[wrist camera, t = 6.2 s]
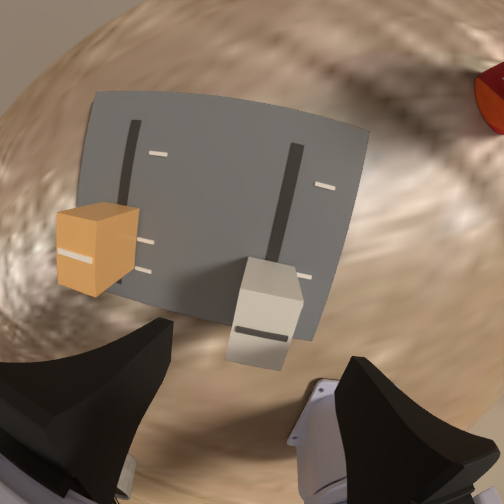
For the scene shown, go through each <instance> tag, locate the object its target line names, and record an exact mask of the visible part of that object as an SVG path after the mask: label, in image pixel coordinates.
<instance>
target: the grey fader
mask: <svg viewBox="0 0 504 504" xmlns="http://www.w3.org/2000/svg"><path fill="white" fill-rule="evenodd" d="M303 303H304V300H303V296H302V292H301V288H300V284H299V280H298V277H297V273H296V269H295V267H294V266H290V265H285V264H280V263H276V262H271V261H267V260H262V259H257V258H253V257H248V261H247V265H246V268H245V272H244V276H243V280H242V283H241V287H240V291H239V296H238V301H237V306H236V310H235V315H234V320H233V325H232V330H231V334H230V339H229V344H228V349H227V353H226V358H225V360H226V361H231V362H235V363H240V364H245V365H250V366H255V367H260V368H266V369H272V370H278V371H281V369H282V366H283V363H284V360H285V357H286V354H287V352H288V349H289V346H290V343H291V340H292V337H293V334H294V331H295V328H296V325H297V322H298V318H299V315H300V312H301V309H302V306H303Z"/></svg>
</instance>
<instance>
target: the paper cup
mask: <svg viewBox="0 0 504 504" xmlns="http://www.w3.org/2000/svg"><path fill="white" fill-rule="evenodd" d="M474 90H475V97H476V101H477V104H478V107H479V110H480V112H481V114H482V116H483V118H484V119H485V121H486V122H487V124H488V125H489V126H490V127H491V128H492V129H493V130H494V131H495V132H497V133H499V134H503V135H504V62H502V63H500V64H498V65H496V66H494V67H492V68H490V69H488V70H486V71H484V72H483V73H481V74H480V75H478V77H477V78H476V80H475V85H474Z"/></svg>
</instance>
